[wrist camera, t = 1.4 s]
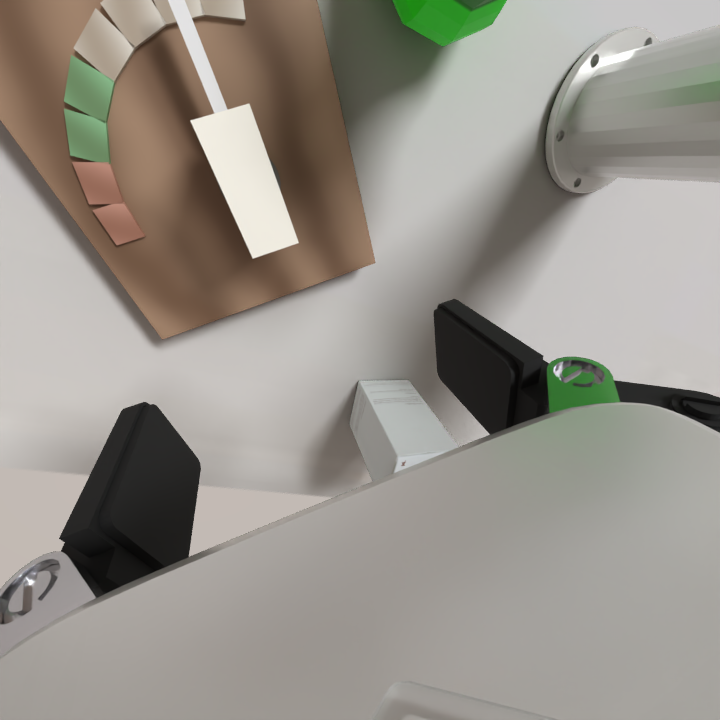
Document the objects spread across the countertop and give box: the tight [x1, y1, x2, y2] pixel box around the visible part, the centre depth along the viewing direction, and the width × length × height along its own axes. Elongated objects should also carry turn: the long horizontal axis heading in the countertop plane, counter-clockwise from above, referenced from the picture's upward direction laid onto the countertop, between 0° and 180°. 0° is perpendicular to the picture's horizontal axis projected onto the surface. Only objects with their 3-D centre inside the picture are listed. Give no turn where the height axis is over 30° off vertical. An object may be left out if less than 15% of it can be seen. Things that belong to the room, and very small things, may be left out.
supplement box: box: [349, 380, 459, 481], centre depth 37 cm, size 7×7×13 cm
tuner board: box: [0, 0, 375, 340], centre depth 22 cm, size 20×26×3 cm
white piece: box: [168, 0, 299, 259], centre depth 19 cm, size 3×13×7 cm, turn 15°
